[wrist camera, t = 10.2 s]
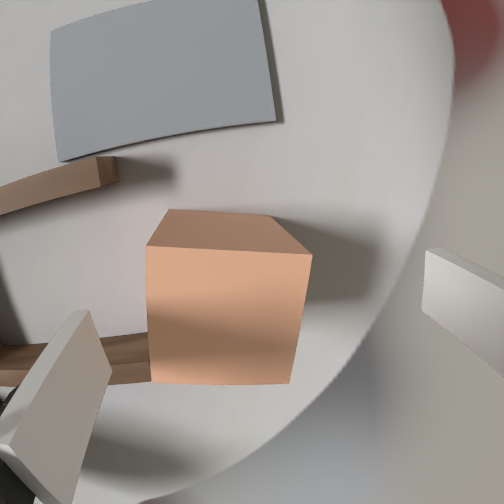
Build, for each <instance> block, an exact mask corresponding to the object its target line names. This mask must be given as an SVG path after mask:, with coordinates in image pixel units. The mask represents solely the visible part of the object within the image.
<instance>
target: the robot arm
mask: <svg viewBox="0 0 504 504" xmlns="http://www.w3.org/2000/svg"><path fill="white" fill-rule="evenodd" d="M423 287H424V288H423V298H422V307H421V310H422V311H423V312H424V313H426V314H427V315H428V316H430V317H431V318H432V319H434V320H435V321H436V322H437V323H439V324H440V325H441V326H442V327H444V328H445V329H446V330H447V331H449V332H450V333H451V334H452V335H454V336H455V337H456V338H458V339H459V340H460V341H461V342H462V343H464V344H465V345H466V346H467V347H469V348H470V349H471V350H472V351H473V352H475V353H476V354H477V355H478V356H479V357H481V358H482V359H483V360H484V361H486V362H487V363H488V364H489V365H490V366H491V367H493V368H494V369H495V370H496V371H497V372H498V373H500V374H501V375H502V376H503V377H504V278H503V277H501V276H499V275H497V274H495V273H493V272H491V271H489V270H487V269H485V268H483V267H481V266H479V265H477V264H475V263H473V262H470V261H468V260H466V259H464V258H462V257H460V256H458V255H455V254H453V253H451V252H449V251H447V250H445V249H442V248H440V247H437V248H432V249H428V250H426V254H425V274H424V286H423ZM111 374H112V369H111V366H110V364H109V362H108V359H107V357H106V354H105V352H104V349H103V347H102V344H101V342H100V339H99V336H98V334H97V331H96V328H95V326H94V323H93V320H92V317H91V314H90V311H89V310H84V311H77V312H72V313H71V314H70V315H69V316H68V318H67V319H66V320H65V322H64V323H63V324H62V326H61V327H60V328H59V330H58V331H57V332H56V334H55V335H54V337H53V338H52V339H51V341H50V342H49V343H48V345H47V346H46V348H45V349H44V350H43V352H42V353H41V355H40V356H39V358H38V359H37V361H36V362H35V363H34V365H33V366H32V368H31V369H30V371H29V372H28V374H27V375H26V377H25V378H24V380H23V381H22V383H20V384H19V385H18V386H17V387H16V388H15V389H13V390H12V391H11V392H10V393H9V395H8V396H7V398H6V399H5V401H4V403H3V406H1V407H0V504H33V502H34V499H35V496H36V497H37V498H38V499H39V500H40V501H41V502H42V503H44V504H72V501H73V497H74V493H75V489H76V485H77V481H78V477H79V474H80V470H81V466H82V463H83V459H84V456H85V453H86V449H87V446H88V442H89V439H90V436H91V433H92V430H93V426H94V423H95V420H96V417H97V414H98V411H99V408H100V405H101V402H102V399H103V396H104V393H105V390H106V388H107V385H108V382H109V379H110V376H111Z"/></svg>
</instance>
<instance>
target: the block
mask: <svg viewBox="0 0 504 504" xmlns="http://www.w3.org/2000/svg"><path fill="white" fill-rule="evenodd" d="M312 256H313V255H312V254H311V253H310V252H309V251H308V250H307V249H306V248H305V247H304V246H303V245H301V244H300V243H299V242H298V241H297V240H296V239H295V238H294V237H293V236H291V235H290V234H289V233H288V232H287V231H286V230H285V229H284V228H283V227H281V226H280V225H279V224H278V223H277V222H276V221H275V220H274V219H273V218H271V217H270V216H266V215H253V214H239V213H224V212H208V211H191V210H172V209H169V210H168V211H167V213H166V214H165V216H164V218H163V219H162V221H161V222H160V224H159V225H158V227H157V229H156V230H155V232H154V233H153V235H152V237H151V238H150V240H149V241H148V243H147V245H146V302H147V325H148V342H149V356H150V368H151V379H152V382H156V383H173V384H196V385H264V384H287V383H289V381H290V376H291V372H292V367H293V362H294V357H295V352H296V347H297V342H298V337H299V331H300V326H301V321H302V315H303V310H304V304H305V298H306V293H307V287H308V281H309V275H310V268H311V262H312Z"/></svg>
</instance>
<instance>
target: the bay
mask: <svg viewBox="0 0 504 504" xmlns="http://www.w3.org/2000/svg"><path fill="white" fill-rule="evenodd" d="M117 181H119V180H118V174H117V168H116V162H115V156H105V157H93V158H89V159H85V160H82V161H78V162H74V163H71V164H67V165H64V166H61V167H57V168H54V169H51V170H48V171H45V172H42V173H38V174H35V175H32V176H29V177H26V178H24V179H21V180H18V181H15V182H12V183H10V184H7V185H4V186H1V187H0V215H2V214H5V213H8V212H11V211H14V210H18V209H21V208H24V207H27V206H31V205H34V204H37V203H41V202H44V201H48V200H51V199H55V198H59V197H62V196H66V195H70V194H74V193H77V192H81V191H85V190H89V189H93V188H97V187H101V186H105V185H108V184H111V183H114V182H117ZM99 339H100V342H101V344H102V347H103V349H104V352H105V354H106V357H107V359H108V362H109V364H110V366H111V369H112V374H111V376H110V379H109V382H108V385H116V384H129V383H140V382H150V381H152V379H151V368H150V356H149V342H148V332H146V333H139V334H131V335H123V336H115V337H106V338H99ZM47 345H48V343H44V344H31V345H15V346H2V344H1V342H0V386H6V387H17V386H18V385H19V384H20V383H22V381H23V380H24V378H25V377H26V375H27V374H28V372H29V371H30V369H31V368H32V366H33V365H34V363H35V362H36V361H37V359H38V358H39V356H40V355H41V353H42V352H43V350H44V349H45V348H46V346H47Z"/></svg>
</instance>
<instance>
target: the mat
mask: <svg viewBox="0 0 504 504" xmlns="http://www.w3.org/2000/svg"><path fill="white" fill-rule="evenodd" d="M50 68H51V95H52V110H53V121H54V131H55V140H56V148H57V156H58V162H64V161H68V160H71V159H75V158H78V157H82V156H85V155H89V154H93V153H96V152H100V151H104V150H108V149H112V148H116V147H120V146H125V145H129V144H134V143H138V142H143V141H147V140H152V139H157V138H162V137H167V136H173V135H178V134H184V133H190V132H196V131H202V130H208V129H215V128H222V127H229V126H237V125H246V124H254V123H264V122H274V121H276V115H275V108H274V101H273V94H272V87H271V80H270V73H269V67H268V60H267V54H266V47H265V41H264V35H263V29H262V23H261V17H260V11H259V6H258V0H153V1H148V2H144V3H139V4H135V5H131V6H127V7H123V8H119V9H115V10H112V11H108V12H105V13H101V14H98V15H95V16H92V17H88V18H85V19H82V20H79V21H77V22H74V23H71V24H68V25H66V26H63V27H60V28H58V29H55V30H53V31H51V44H50Z"/></svg>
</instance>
